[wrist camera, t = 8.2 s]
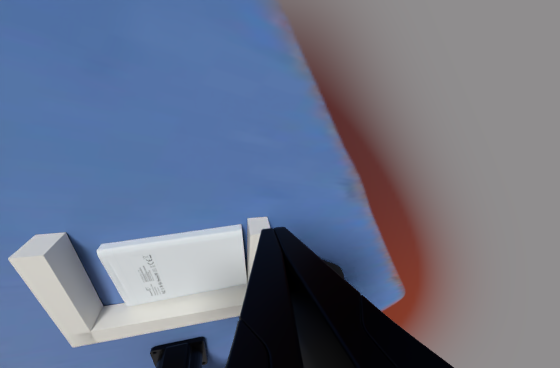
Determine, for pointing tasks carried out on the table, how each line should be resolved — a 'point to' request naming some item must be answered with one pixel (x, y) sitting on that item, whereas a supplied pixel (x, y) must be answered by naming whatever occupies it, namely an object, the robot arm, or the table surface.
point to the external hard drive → (175, 264)
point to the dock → (116, 318)
